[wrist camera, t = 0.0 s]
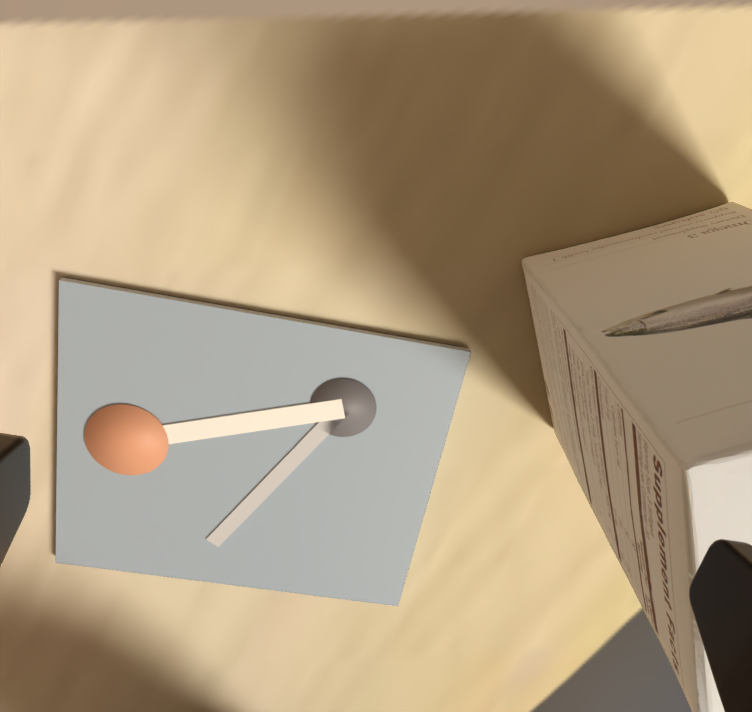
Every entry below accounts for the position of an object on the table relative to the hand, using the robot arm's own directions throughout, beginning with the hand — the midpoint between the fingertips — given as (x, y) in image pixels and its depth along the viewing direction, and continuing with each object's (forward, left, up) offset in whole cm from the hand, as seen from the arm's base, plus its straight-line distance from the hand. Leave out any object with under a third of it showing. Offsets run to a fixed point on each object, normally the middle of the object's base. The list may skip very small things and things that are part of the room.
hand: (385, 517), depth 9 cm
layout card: (-9, +3, -15) cm, 18 cm away
